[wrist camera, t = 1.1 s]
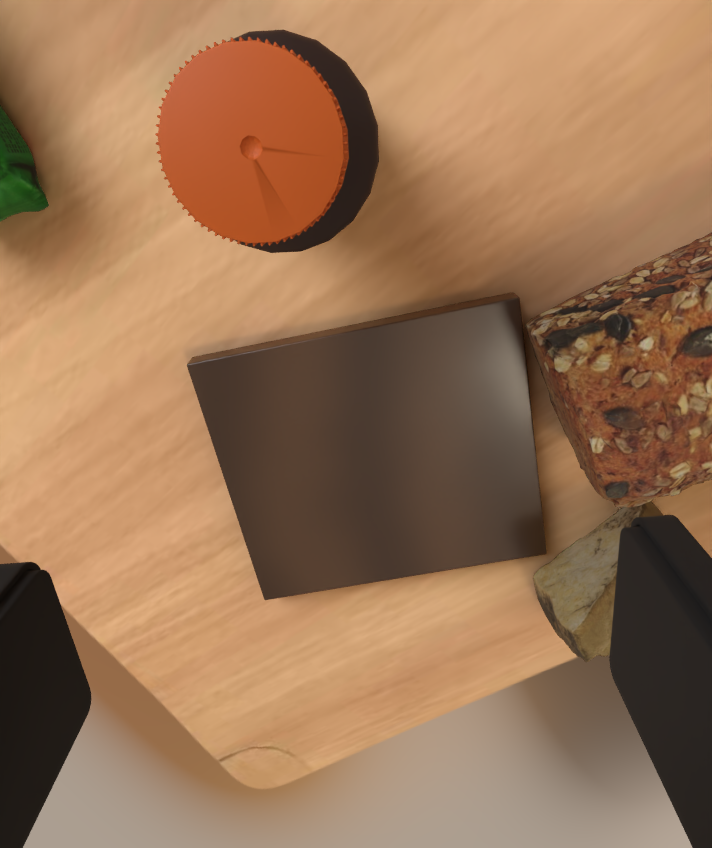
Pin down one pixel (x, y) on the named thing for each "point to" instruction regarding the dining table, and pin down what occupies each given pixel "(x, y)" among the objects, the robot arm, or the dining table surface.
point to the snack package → (17, 173)
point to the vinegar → (269, 141)
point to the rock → (586, 585)
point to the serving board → (379, 447)
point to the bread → (636, 376)
